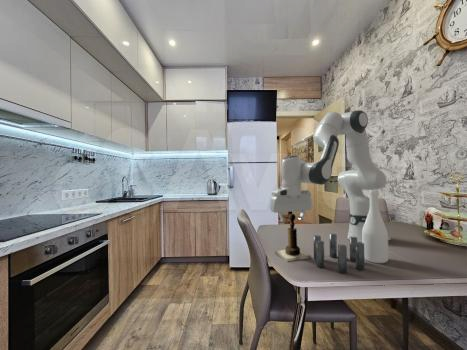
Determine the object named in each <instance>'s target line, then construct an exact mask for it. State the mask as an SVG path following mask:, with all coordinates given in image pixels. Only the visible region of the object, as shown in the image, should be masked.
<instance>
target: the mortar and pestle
mask: <svg viewBox="0 0 467 350" xmlns="http://www.w3.org/2000/svg"><path fill="white" fill-rule="evenodd" d="M288 219H289V221H290V223H289V227H288V228H287V245H286V247H285V248H284V250H286V254H288V255H299V254H300V250H301V248H300V247H299V246H298V239H297V238H298V236H297V235H298V233H297V232H298V230H297V228H295V223H294V222H295V219H296V215H295V214H294V213H289V215H288Z"/></svg>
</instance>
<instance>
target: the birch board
mask: <svg viewBox="0 0 467 350" xmlns="http://www.w3.org/2000/svg"><path fill="white" fill-rule="evenodd" d="M274 254H275V255H277V256H278V257H280V258H281V259H283V260H284V261H286V262H294V261H299V260H305V259H306V260H307V259H312V254H310V253H307V252H305V251H303V250H301V249H300V254H299V255H288V254H286V250H285V249H280V250H275V251H274Z"/></svg>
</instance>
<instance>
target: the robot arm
mask: <svg viewBox="0 0 467 350" xmlns="http://www.w3.org/2000/svg"><path fill="white" fill-rule="evenodd" d="M368 118H369V117H368V115H367V113H366V112H365V111H363V110H359V109H358V110H353V111H349V112H344V113H343V112H342V113H341V114H340V113H339V112H336V111H330V112H328V113H326V114H325V115H324V116H323V117H322V119H320V122H319V123H318V124H317V126H316V128H315V130H314V131H313V136H312V138H313V142H314V143H315V144H316V145H317V146H318V147H319V148H322V149H323V150H322V153H321V155H320V159H318V160H317V161H314V162H306V161H304V160H302V159H301V158H300V156H299V155H288V156H285V157H282V160H281V167H280V176H281V184H280V185H281V186H280V187H278V188H275V189H273V190H271V195H272V196H271V197H270V204H269V205H270V207H269V208H270V211H271V212H272V213H276V214H278V217H279V220H280V223H285V222H286V218H285V217H283V215H284V213H290V212H291V213H292V212H299V213H300V214H299V216H298V217H297V219H298V221H304V217H305V214H306V211H312V208H313V202H312V201H313V200H312V193H311V192H310V191H309V190H307V189H306V190H303V189H302V184H315V185H326V184H327V183H328V181H330V179H331V177H332V171H333V167H334V163H335V159H336V156H337V152H338V149H339V144H340V141H339V138H338V136H344V135H345V146H346V147H345V148H346V149H345V150H346V158H347V161H348V162H349V163H350V164H353V165H354V167H356V169H350V170H345V171H344V170H343V171H342V172H340V173H339V174H338V176H337V182H338V183H337V184H338V185H339V186H340V188H341V189H343V191H345V193H346V194H347V197H348V201H349V212H350V213H349V216H348V217H349V218H348V219H349V225H348V233H347V239H348V240H349V241H350V237H357V240H358V242H361V243H362V230H363V226H364V224H365V221H366V218H367V215H368V213H369V209H370V197H368V196H366V195H365V193H364V192H363V190H365V191H366V190H368V191H370V190H381V189H383V188H384V187H385V186H386V184H387V176H386V174H385V173H384V171H382V170H381V169H379V168H378V167H377V166H376V165H375V163H374V162H373V160H372V159H371V154H370V145H369V138H368V134H367V130H366V128H367V126H368V123H369V119H368ZM391 239H392V238H391V237H389V236H388V241H391Z"/></svg>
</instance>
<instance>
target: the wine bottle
mask: <svg viewBox="0 0 467 350" xmlns="http://www.w3.org/2000/svg"><path fill="white" fill-rule="evenodd" d="M379 195H380V191H379V189H376V190H368V196H369V198H370V209H369V213H368V215H367V218H366V221H365V224H364V226H363V230H362V242H361V243H364V258H365V261H367V262H370V263H375V264H386V263H387V262H388V261H389V240H388V237H389V234H388V233H389V232H388V230H387V226H386V224H385V222H384V219H383V218H382V214H381V211H380V205H379V204H380V203H379V201H380V200H379Z"/></svg>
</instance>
